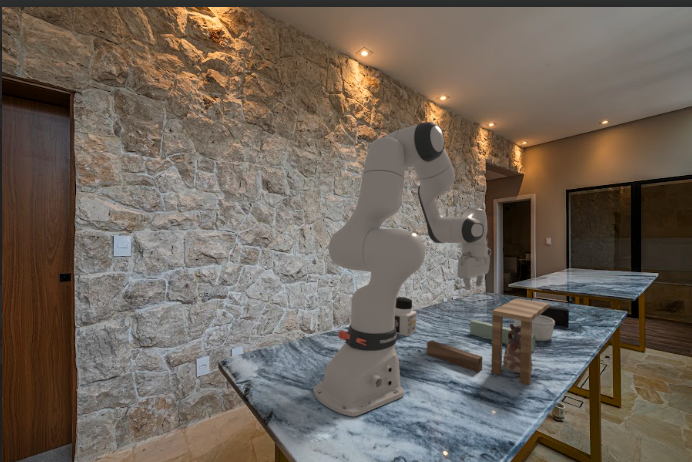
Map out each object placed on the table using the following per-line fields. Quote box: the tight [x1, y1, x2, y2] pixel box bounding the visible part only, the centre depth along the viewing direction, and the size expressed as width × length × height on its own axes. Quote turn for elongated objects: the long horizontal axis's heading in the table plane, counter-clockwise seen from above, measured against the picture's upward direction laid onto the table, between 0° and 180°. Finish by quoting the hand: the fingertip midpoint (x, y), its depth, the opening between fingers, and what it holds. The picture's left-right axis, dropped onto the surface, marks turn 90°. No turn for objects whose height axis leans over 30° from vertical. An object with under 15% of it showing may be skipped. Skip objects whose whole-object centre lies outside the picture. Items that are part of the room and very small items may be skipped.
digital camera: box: [540, 305, 570, 328], centre depth 128 cm, size 10×5×7 cm, turn 58°
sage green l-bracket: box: [469, 319, 536, 353], centre depth 103 cm, size 13×21×5 cm, turn 42°
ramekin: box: [513, 315, 556, 342], centre depth 112 cm, size 13×13×7 cm
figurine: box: [502, 323, 533, 374], centre depth 85 cm, size 7×7×12 cm
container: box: [395, 296, 417, 337], centre depth 114 cm, size 8×8×13 cm
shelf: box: [490, 297, 550, 386], centre depth 86 cm, size 22×9×17 cm, turn 135°
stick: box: [426, 340, 483, 374], centre depth 88 cm, size 3×16×4 cm, turn 43°
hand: (473, 287), depth 112 cm, fingers open, 8 cm apart
